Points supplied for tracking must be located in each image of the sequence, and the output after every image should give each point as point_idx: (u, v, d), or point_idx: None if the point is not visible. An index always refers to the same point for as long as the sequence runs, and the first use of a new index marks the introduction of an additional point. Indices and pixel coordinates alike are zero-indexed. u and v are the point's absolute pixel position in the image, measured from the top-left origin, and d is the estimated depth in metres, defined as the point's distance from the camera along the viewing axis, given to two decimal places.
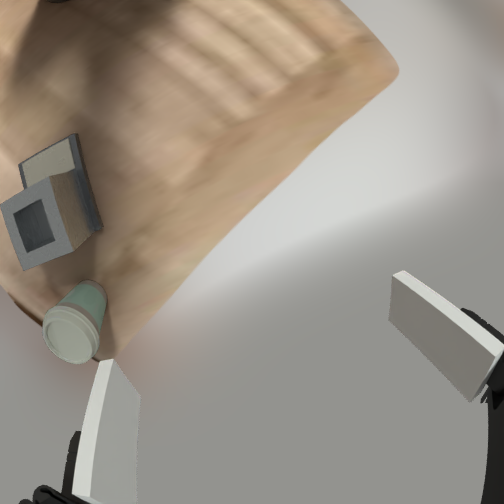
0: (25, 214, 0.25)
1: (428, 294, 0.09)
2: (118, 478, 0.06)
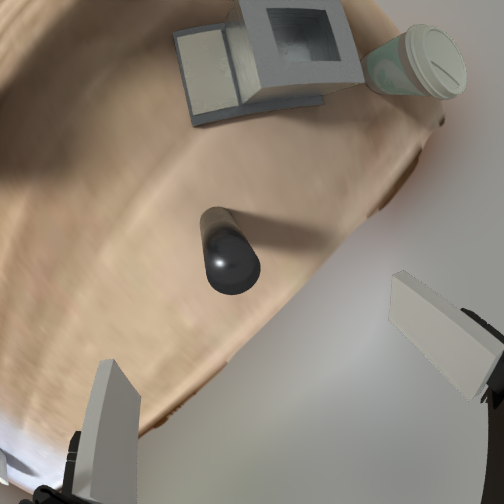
0: None
1: (428, 294, 0.09)
2: (118, 478, 0.06)
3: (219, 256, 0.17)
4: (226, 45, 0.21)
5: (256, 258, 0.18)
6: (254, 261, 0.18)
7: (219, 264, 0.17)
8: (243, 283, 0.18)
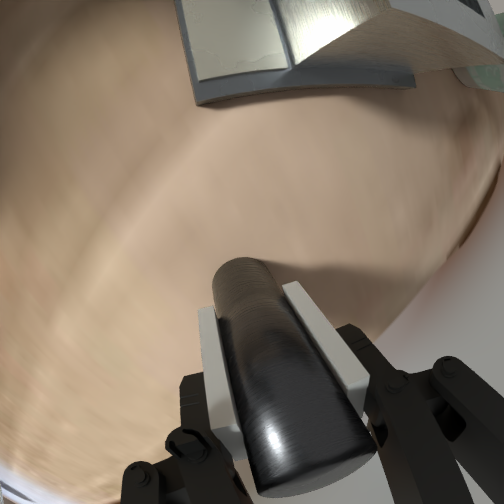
0: None
1: (306, 307, 0.11)
2: None
3: (294, 472, 0.05)
4: None
5: (374, 447, 0.05)
6: (368, 452, 0.05)
7: (291, 479, 0.05)
8: (332, 479, 0.06)
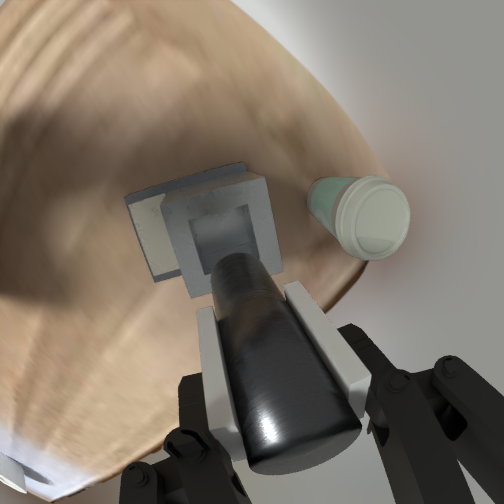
0: (211, 261, 0.26)
1: (308, 306, 0.11)
2: None
3: (282, 444, 0.06)
4: None
5: (358, 425, 0.06)
6: (353, 430, 0.06)
7: (279, 452, 0.06)
8: (321, 457, 0.07)
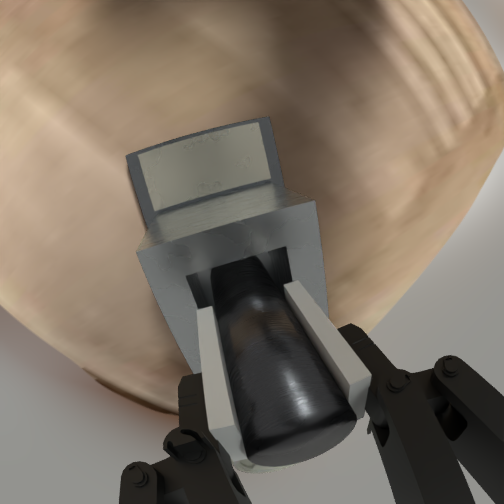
0: None
1: (308, 306, 0.11)
2: None
3: (278, 433, 0.06)
4: (244, 187, 0.20)
5: (353, 416, 0.07)
6: (348, 421, 0.07)
7: (276, 442, 0.06)
8: (318, 449, 0.07)
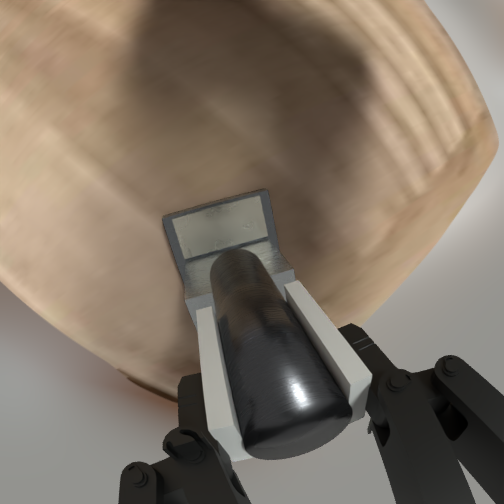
0: None
1: (308, 306, 0.11)
2: None
3: (275, 425, 0.06)
4: (249, 242, 0.29)
5: (349, 409, 0.07)
6: (344, 414, 0.07)
7: (273, 433, 0.07)
8: (314, 443, 0.07)
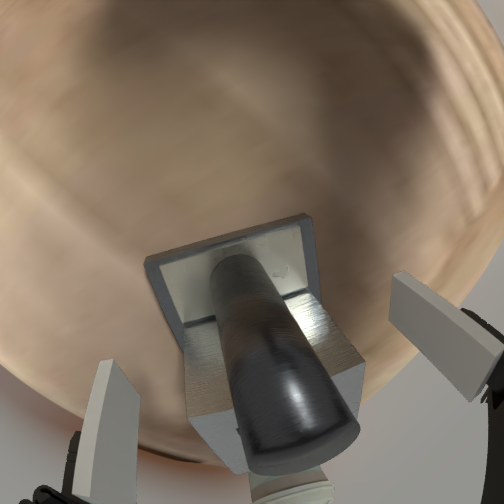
0: None
1: (428, 294, 0.09)
2: (118, 478, 0.06)
3: (281, 445, 0.06)
4: None
5: (356, 427, 0.06)
6: (351, 431, 0.06)
7: (278, 453, 0.06)
8: (320, 459, 0.07)
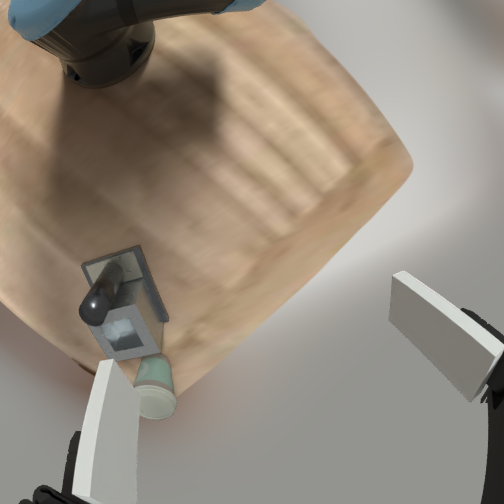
0: None
1: (428, 294, 0.09)
2: (118, 478, 0.06)
3: (83, 307, 0.27)
4: (132, 280, 0.40)
5: (100, 308, 0.28)
6: (100, 310, 0.28)
7: (84, 311, 0.27)
8: (98, 321, 0.28)
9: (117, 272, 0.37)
